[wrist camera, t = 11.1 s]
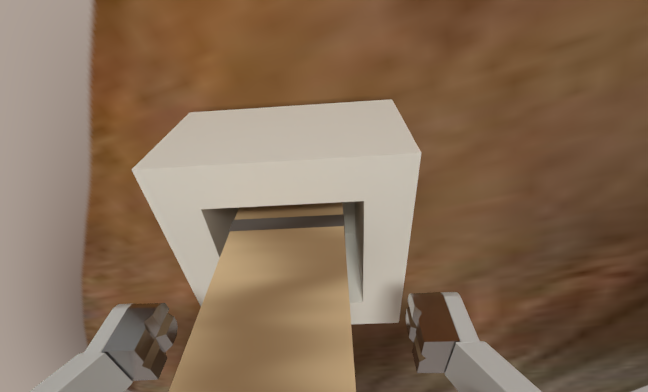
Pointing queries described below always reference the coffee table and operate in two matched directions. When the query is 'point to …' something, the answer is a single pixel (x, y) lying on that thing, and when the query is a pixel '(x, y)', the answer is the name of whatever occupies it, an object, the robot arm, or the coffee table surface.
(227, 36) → the coffee table surface
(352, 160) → the socket board
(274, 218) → the oak peg
